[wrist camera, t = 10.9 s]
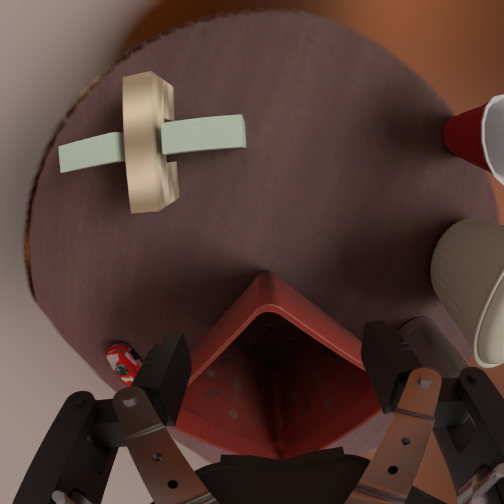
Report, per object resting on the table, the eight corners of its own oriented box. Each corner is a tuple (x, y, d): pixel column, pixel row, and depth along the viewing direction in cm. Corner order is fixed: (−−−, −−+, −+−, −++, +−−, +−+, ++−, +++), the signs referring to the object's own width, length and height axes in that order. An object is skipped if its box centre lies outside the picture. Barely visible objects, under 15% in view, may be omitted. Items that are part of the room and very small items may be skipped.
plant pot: (262, 231, 35) (267, 300, 19) (362, 311, 39) (407, 392, 23) (180, 329, 40) (148, 416, 25) (277, 386, 44) (283, 470, 29)
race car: (171, 389, 46) (167, 405, 42) (150, 394, 47) (144, 409, 43) (127, 336, 42) (118, 351, 38) (106, 344, 43) (97, 358, 39)
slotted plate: (179, 197, 34) (158, 211, 26) (156, 199, 34) (131, 213, 26) (173, 86, 29) (150, 71, 21) (150, 91, 29) (122, 77, 21)
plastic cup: (415, 119, 29) (472, 113, 18) (459, 90, 27) (514, 83, 16) (447, 187, 32) (504, 206, 21) (487, 154, 30) (541, 164, 19)
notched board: (245, 123, 31) (241, 114, 23) (246, 147, 32) (243, 146, 24) (94, 144, 31) (58, 146, 24) (95, 166, 32) (60, 173, 25)
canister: (397, 237, 35) (498, 317, 15) (480, 181, 32) (584, 217, 12) (425, 325, 40) (488, 412, 20) (496, 271, 37) (569, 329, 17)
